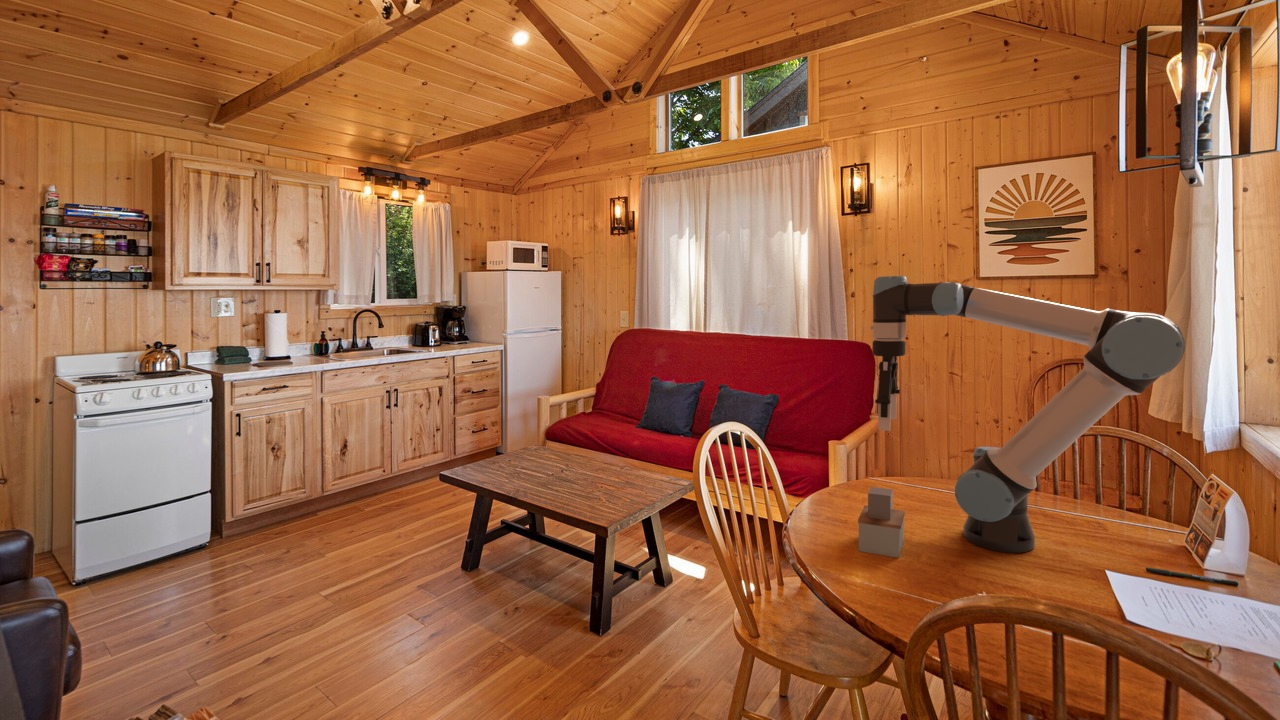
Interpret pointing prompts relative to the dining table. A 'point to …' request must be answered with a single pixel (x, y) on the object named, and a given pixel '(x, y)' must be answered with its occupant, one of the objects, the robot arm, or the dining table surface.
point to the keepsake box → (881, 539)
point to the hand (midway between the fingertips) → (887, 424)
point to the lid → (893, 523)
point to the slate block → (880, 503)
